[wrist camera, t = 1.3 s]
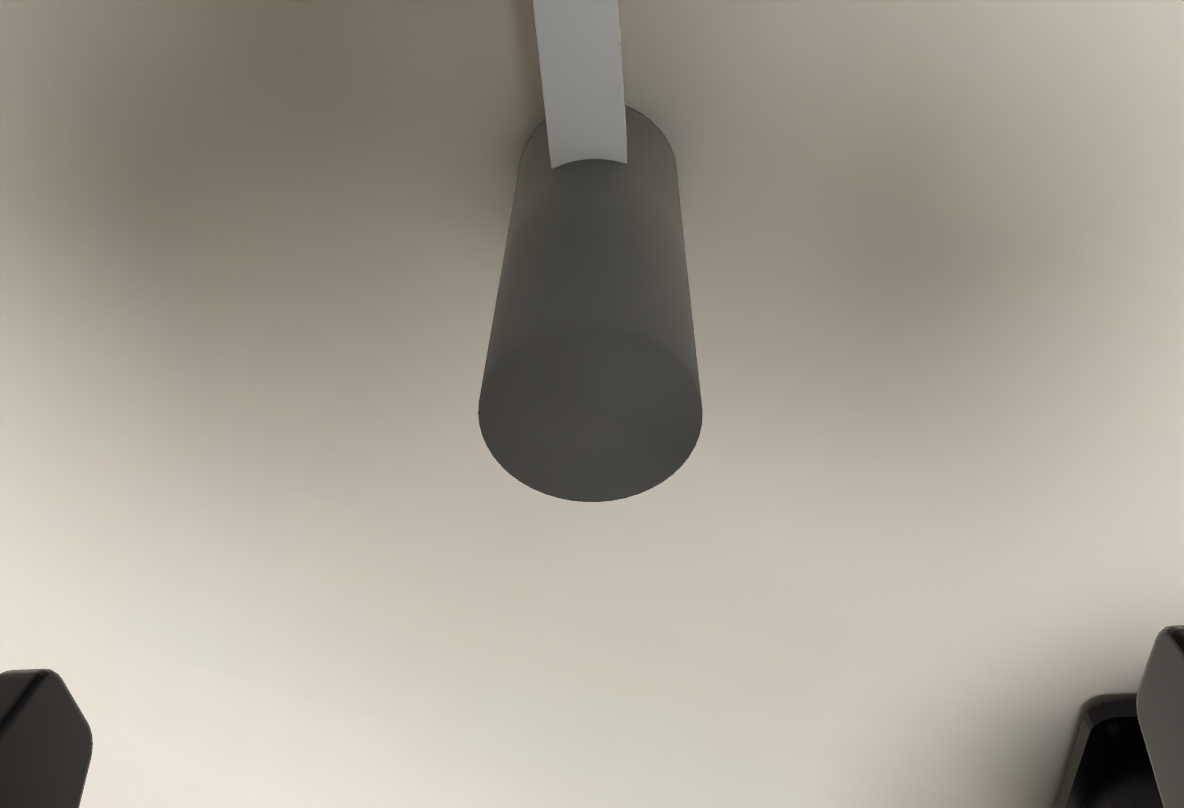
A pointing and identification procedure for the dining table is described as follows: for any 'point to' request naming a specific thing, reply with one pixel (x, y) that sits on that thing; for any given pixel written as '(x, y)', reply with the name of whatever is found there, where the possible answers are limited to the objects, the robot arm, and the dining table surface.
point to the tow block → (591, 284)
